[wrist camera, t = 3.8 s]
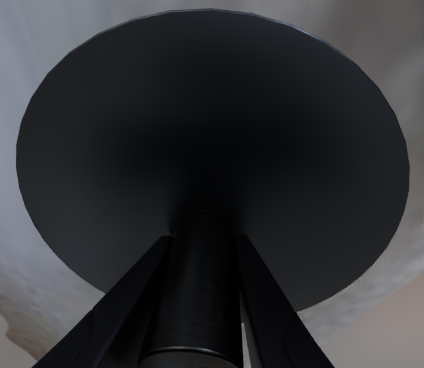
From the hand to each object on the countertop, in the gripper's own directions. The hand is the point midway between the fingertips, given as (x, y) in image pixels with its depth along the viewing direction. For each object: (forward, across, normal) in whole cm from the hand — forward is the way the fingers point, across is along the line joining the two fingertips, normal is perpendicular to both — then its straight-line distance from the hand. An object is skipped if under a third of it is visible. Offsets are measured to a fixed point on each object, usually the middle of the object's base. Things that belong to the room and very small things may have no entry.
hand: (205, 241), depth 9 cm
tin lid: (+1, 0, 0) cm, 1 cm away
